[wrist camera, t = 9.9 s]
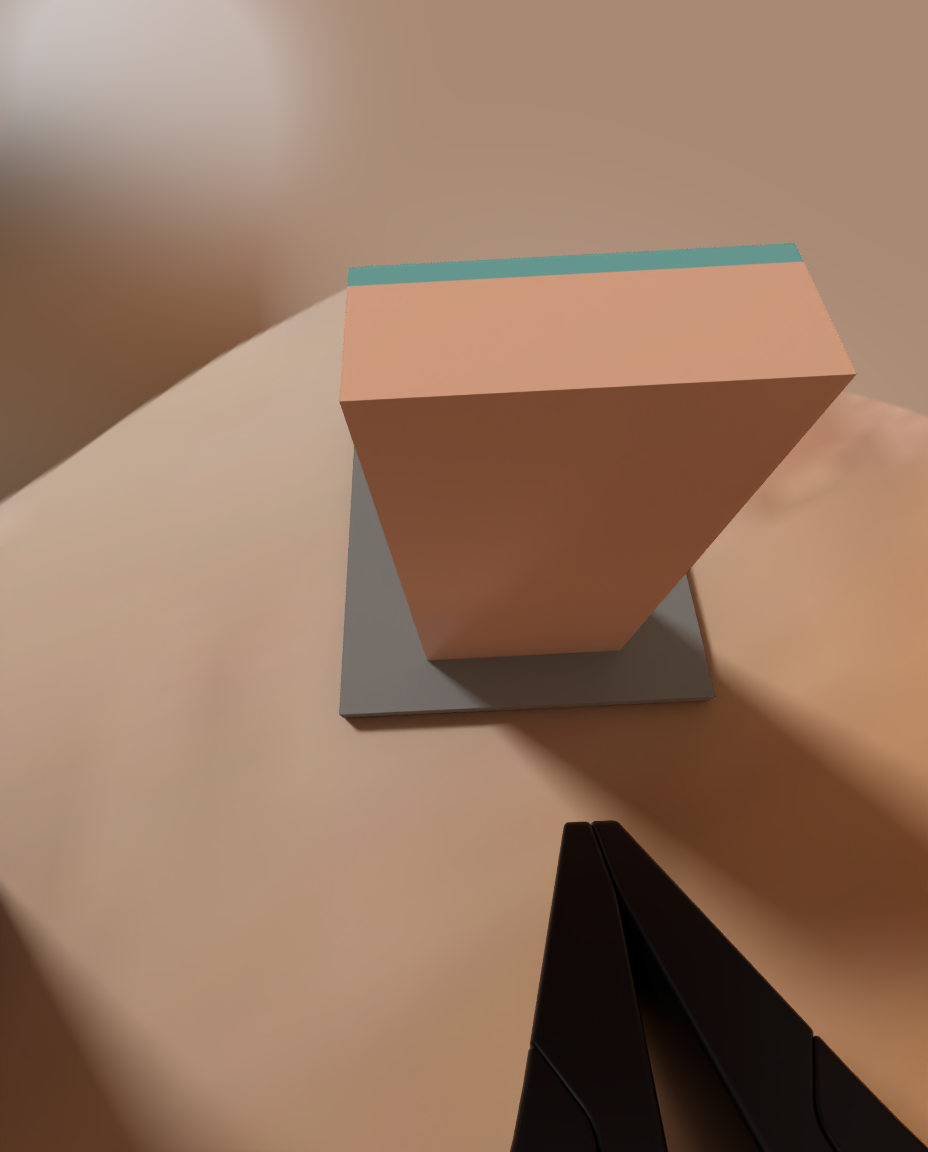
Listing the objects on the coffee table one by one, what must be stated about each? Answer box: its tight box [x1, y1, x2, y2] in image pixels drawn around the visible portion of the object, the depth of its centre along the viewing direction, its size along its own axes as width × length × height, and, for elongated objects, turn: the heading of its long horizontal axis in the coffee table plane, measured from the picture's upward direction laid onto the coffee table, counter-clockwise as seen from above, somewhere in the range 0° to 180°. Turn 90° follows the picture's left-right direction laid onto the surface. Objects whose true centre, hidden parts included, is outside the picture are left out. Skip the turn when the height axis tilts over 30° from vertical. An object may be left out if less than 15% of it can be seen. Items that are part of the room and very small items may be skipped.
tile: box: [339, 243, 856, 660], centre depth 12 cm, size 2×6×12 cm, turn 93°
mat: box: [339, 446, 716, 718], centre depth 20 cm, size 13×12×1 cm
